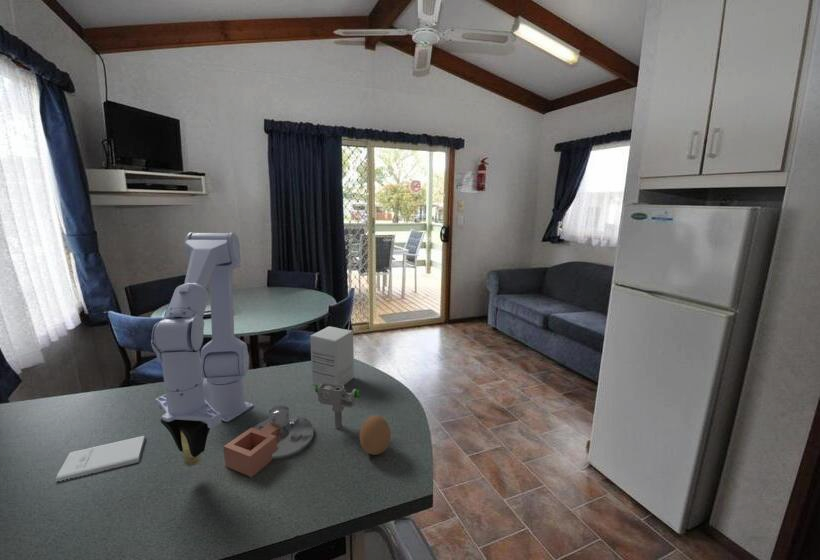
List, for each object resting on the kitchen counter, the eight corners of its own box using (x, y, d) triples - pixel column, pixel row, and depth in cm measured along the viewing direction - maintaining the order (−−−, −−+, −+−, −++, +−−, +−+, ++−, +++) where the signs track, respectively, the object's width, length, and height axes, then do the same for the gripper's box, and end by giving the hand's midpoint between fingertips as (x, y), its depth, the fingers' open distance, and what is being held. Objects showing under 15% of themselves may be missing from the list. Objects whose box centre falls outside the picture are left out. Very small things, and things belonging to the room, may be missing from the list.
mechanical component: (356, 433, 84) (356, 393, 82) (314, 427, 86) (313, 387, 84) (361, 426, 86) (361, 387, 84) (320, 420, 88) (319, 381, 86)
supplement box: (329, 371, 113) (328, 325, 110) (354, 377, 110) (354, 330, 107) (310, 384, 105) (309, 335, 102) (337, 391, 102) (336, 340, 99)
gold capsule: (180, 463, 68) (176, 429, 66) (194, 453, 70) (190, 421, 69) (191, 467, 67) (187, 433, 65) (205, 458, 69) (201, 425, 68)
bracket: (225, 466, 72) (223, 446, 72) (263, 437, 81) (262, 419, 80) (251, 477, 70) (250, 456, 69) (288, 446, 79) (287, 427, 78)
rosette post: (230, 448, 78) (228, 419, 76) (278, 414, 90) (277, 388, 89) (282, 468, 72) (281, 437, 71) (325, 429, 85) (325, 402, 84)
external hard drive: (139, 464, 73) (56, 485, 68) (146, 441, 80) (71, 457, 75) (138, 457, 73) (55, 477, 67) (145, 434, 80) (70, 450, 74)
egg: (383, 465, 74) (383, 429, 72) (354, 458, 76) (354, 422, 74) (394, 446, 80) (395, 411, 78) (367, 439, 82) (367, 405, 80)
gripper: (134, 384, 64) (144, 452, 67) (191, 404, 59) (199, 477, 62) (173, 368, 71) (181, 430, 74) (228, 384, 65) (234, 451, 68)
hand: (192, 450), depth 68 cm, fingers closed on gold capsule, 3 cm apart
